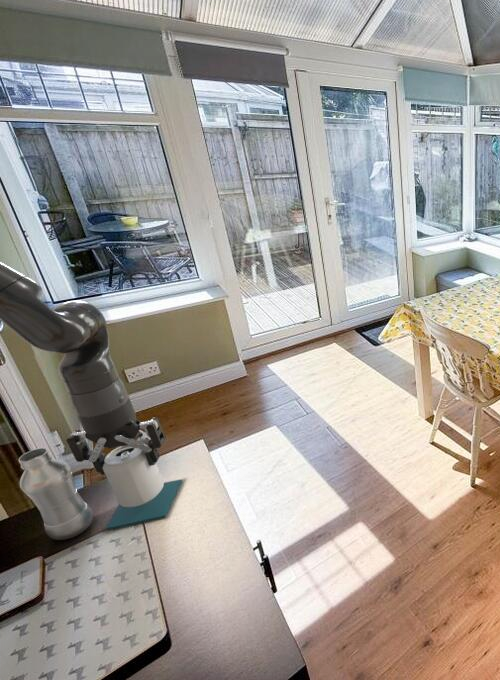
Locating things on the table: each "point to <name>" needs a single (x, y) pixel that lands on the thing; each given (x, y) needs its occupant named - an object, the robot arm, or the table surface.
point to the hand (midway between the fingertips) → (130, 466)
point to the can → (132, 476)
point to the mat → (146, 508)
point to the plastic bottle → (54, 494)
